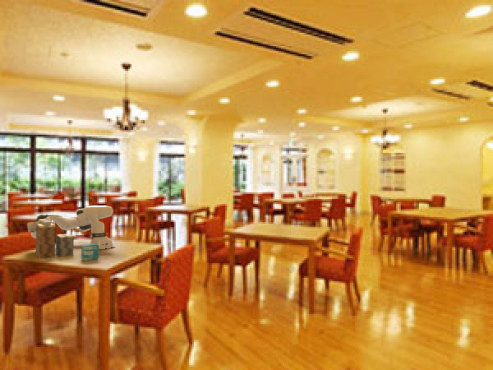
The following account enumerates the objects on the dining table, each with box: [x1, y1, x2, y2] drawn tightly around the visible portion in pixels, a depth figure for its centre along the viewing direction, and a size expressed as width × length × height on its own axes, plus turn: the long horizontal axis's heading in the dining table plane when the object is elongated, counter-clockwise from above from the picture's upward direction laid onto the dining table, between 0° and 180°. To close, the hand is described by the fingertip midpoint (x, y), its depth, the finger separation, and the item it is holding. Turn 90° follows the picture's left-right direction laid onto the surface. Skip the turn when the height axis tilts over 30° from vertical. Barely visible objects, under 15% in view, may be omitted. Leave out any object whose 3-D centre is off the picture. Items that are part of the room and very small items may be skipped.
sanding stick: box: [39, 219, 51, 225], centre depth 299 cm, size 4×22×3 cm, turn 42°
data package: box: [80, 243, 100, 262], centre depth 288 cm, size 12×4×12 cm, turn 128°
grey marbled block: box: [55, 233, 75, 257], centre depth 305 cm, size 10×13×16 cm
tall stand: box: [35, 223, 57, 259], centre depth 295 cm, size 11×13×26 cm
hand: (43, 221), depth 302 cm, fingers closed on sanding stick, 4 cm apart
